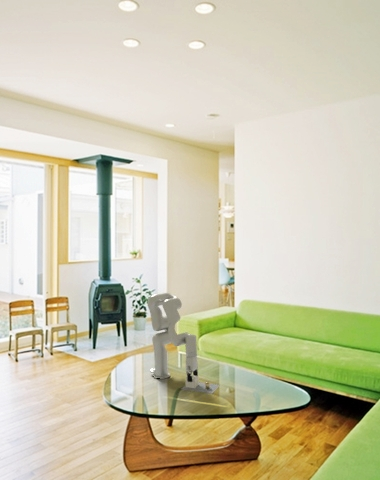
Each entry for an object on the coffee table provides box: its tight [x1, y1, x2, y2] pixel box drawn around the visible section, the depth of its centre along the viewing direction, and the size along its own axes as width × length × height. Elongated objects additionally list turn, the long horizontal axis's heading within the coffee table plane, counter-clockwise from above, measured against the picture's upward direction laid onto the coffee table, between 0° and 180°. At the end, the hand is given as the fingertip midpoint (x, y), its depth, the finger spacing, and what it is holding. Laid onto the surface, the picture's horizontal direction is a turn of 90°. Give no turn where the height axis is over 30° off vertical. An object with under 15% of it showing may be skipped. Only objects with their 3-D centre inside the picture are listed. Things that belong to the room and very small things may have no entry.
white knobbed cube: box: [185, 374, 200, 388], centre depth 265 cm, size 7×7×7 cm
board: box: [181, 382, 221, 395], centre depth 263 cm, size 22×15×1 cm
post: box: [204, 380, 210, 389], centre depth 261 cm, size 3×3×4 cm
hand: (192, 379), depth 264 cm, fingers open, 9 cm apart
